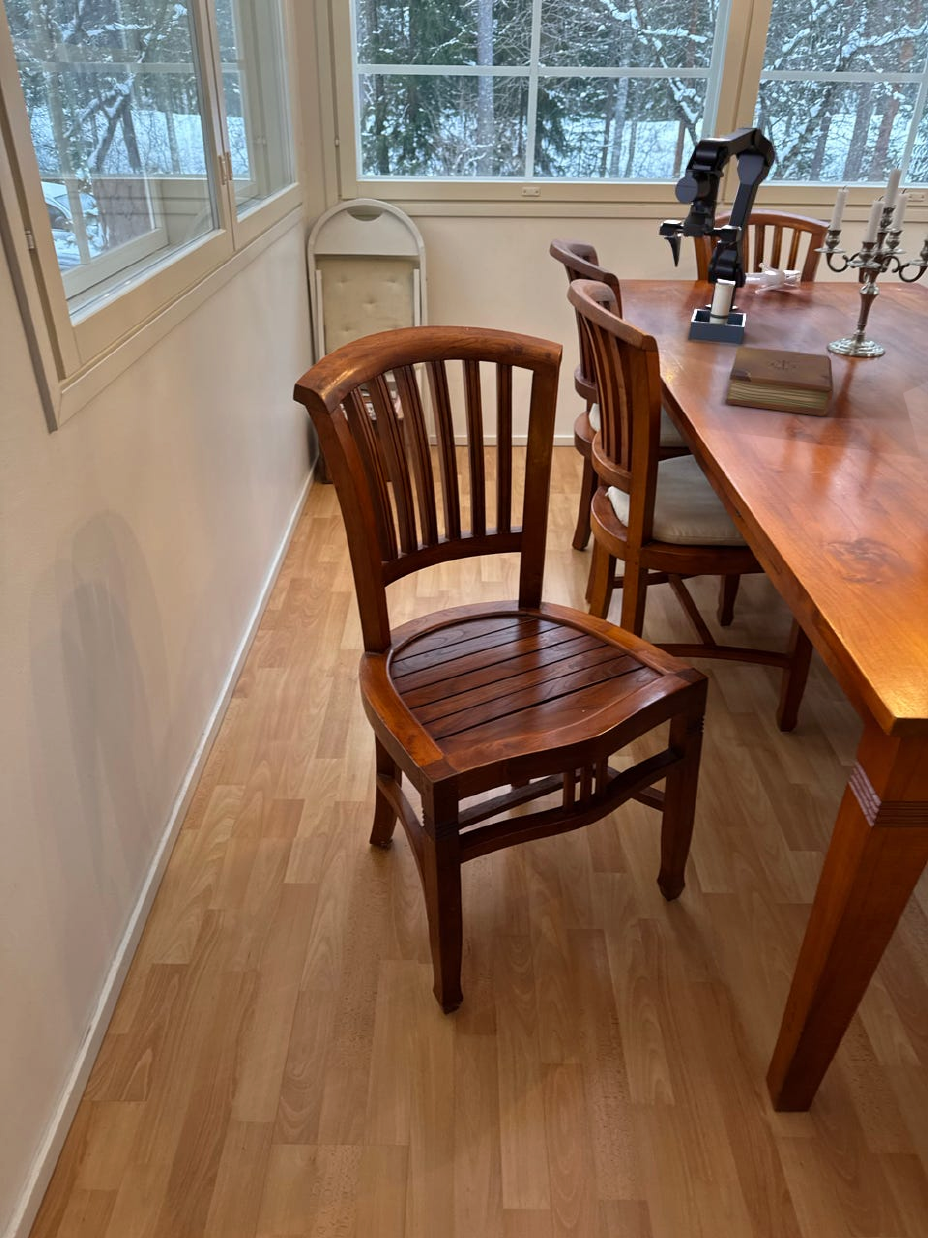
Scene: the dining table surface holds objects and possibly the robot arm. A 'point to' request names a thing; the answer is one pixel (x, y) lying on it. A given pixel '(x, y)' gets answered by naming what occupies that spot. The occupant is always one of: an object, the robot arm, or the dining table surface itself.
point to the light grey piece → (721, 303)
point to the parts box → (717, 328)
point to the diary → (781, 381)
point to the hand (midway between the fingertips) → (694, 268)
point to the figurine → (773, 279)
